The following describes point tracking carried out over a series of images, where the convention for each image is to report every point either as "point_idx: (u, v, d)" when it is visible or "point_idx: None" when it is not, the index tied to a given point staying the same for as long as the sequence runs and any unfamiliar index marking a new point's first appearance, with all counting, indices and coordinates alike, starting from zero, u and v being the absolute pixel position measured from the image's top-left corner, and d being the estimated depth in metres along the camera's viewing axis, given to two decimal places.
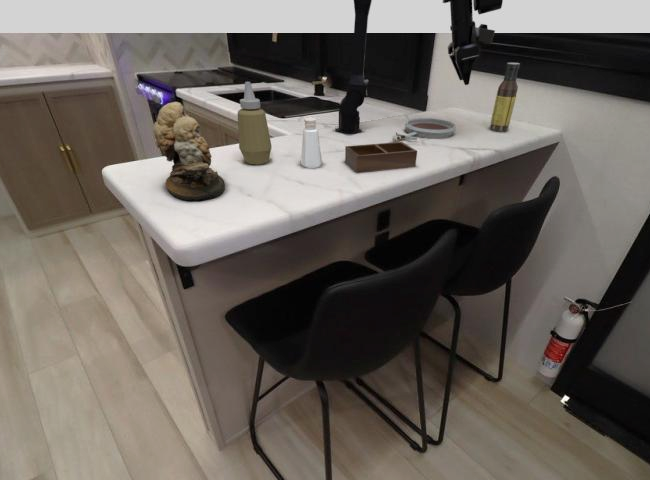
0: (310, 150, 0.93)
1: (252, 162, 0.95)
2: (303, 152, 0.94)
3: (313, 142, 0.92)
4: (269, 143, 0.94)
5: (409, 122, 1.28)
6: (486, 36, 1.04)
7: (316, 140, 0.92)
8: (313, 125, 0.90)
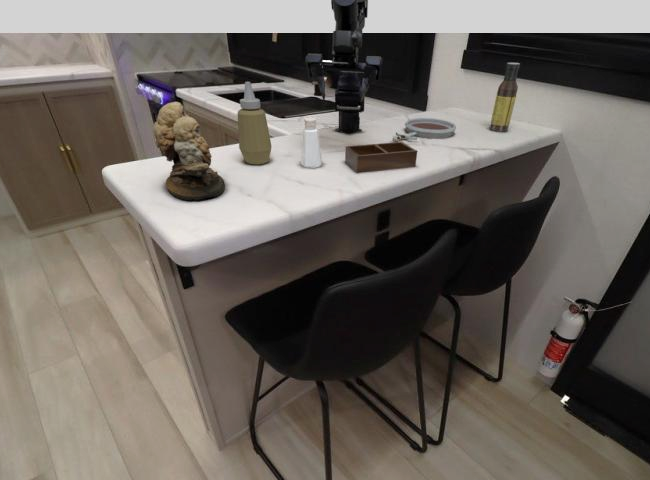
0: (310, 150, 0.93)
1: (252, 162, 0.95)
2: (303, 152, 0.94)
3: (313, 142, 0.92)
4: (269, 143, 0.94)
5: (409, 122, 1.28)
6: None
7: (316, 140, 0.92)
8: (313, 125, 0.90)
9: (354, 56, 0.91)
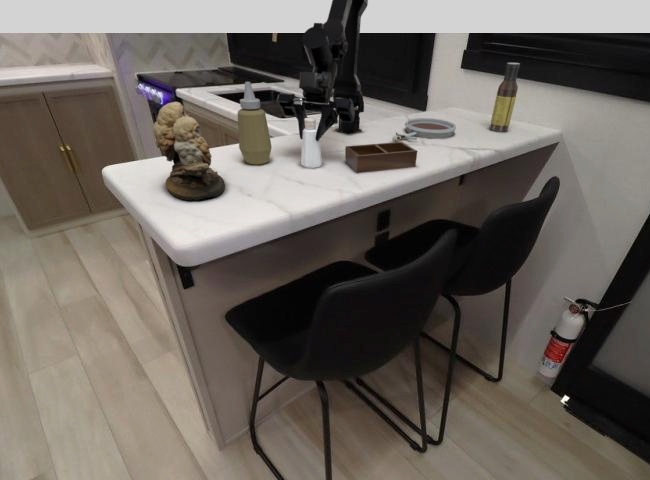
0: (310, 150, 0.93)
1: (252, 162, 0.95)
2: (303, 152, 0.94)
3: (313, 142, 0.92)
4: (269, 143, 0.94)
5: (409, 122, 1.28)
6: None
7: None
8: (313, 125, 0.90)
9: (324, 97, 0.90)
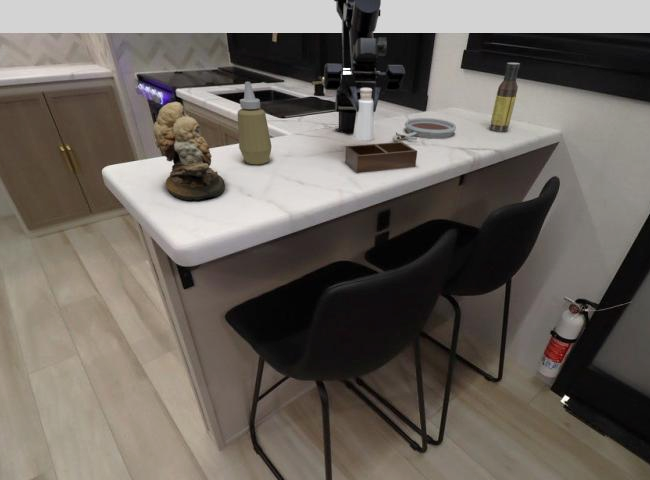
0: (368, 122, 0.89)
1: (252, 162, 0.95)
2: (359, 125, 0.90)
3: (371, 113, 0.89)
4: (269, 143, 0.94)
5: (409, 122, 1.28)
6: (356, 50, 0.83)
7: None
8: (370, 95, 0.87)
9: (376, 65, 0.87)
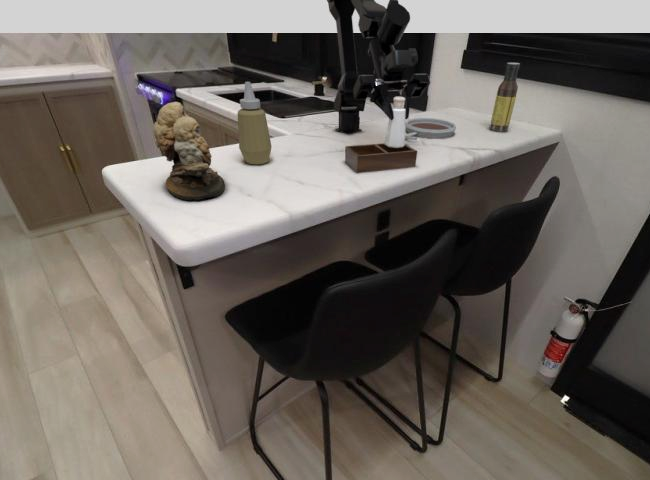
0: (402, 129, 0.93)
1: (252, 162, 0.95)
2: (393, 133, 0.94)
3: (404, 121, 0.93)
4: (269, 143, 0.94)
5: (409, 122, 1.28)
6: (390, 61, 0.87)
7: None
8: None
9: (404, 75, 0.91)
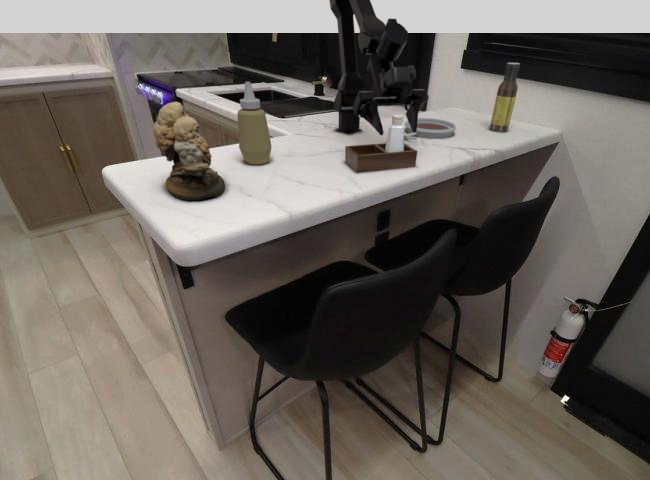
0: (400, 145, 0.96)
1: (252, 162, 0.95)
2: (392, 149, 0.96)
3: (403, 137, 0.95)
4: (269, 143, 0.94)
5: None
6: (389, 78, 0.89)
7: (403, 135, 0.96)
8: (402, 121, 0.94)
9: (402, 90, 0.93)
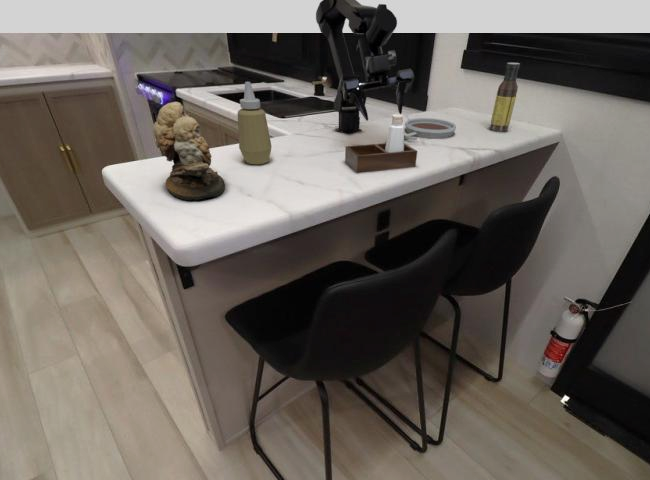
0: (400, 145, 0.96)
1: (252, 162, 0.95)
2: (392, 149, 0.96)
3: (403, 137, 0.95)
4: (269, 143, 0.94)
5: (409, 122, 1.28)
6: (370, 66, 0.94)
7: (403, 135, 0.96)
8: (402, 121, 0.94)
9: (387, 74, 0.98)
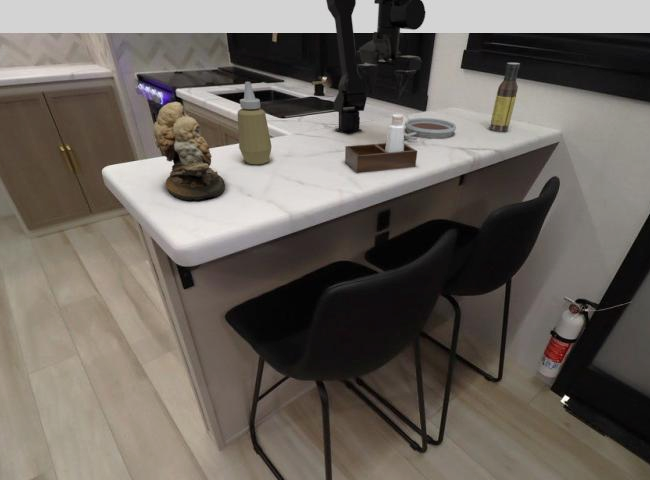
0: (400, 145, 0.96)
1: (252, 162, 0.95)
2: (392, 149, 0.96)
3: (403, 137, 0.95)
4: (269, 143, 0.94)
5: (409, 122, 1.28)
6: None
7: (403, 135, 0.96)
8: (402, 121, 0.94)
9: (387, 57, 0.95)
